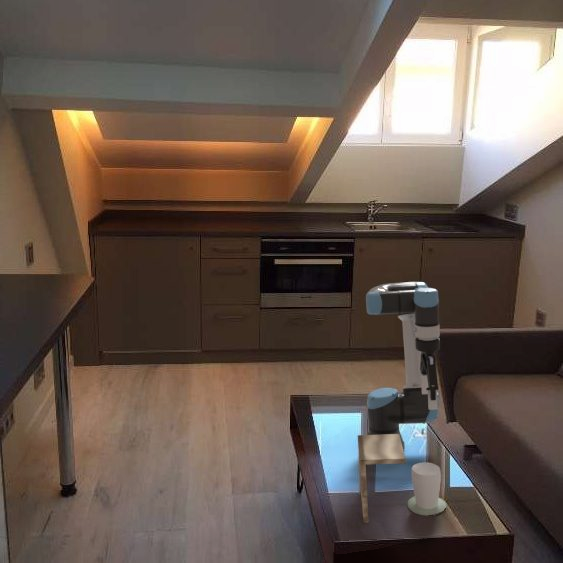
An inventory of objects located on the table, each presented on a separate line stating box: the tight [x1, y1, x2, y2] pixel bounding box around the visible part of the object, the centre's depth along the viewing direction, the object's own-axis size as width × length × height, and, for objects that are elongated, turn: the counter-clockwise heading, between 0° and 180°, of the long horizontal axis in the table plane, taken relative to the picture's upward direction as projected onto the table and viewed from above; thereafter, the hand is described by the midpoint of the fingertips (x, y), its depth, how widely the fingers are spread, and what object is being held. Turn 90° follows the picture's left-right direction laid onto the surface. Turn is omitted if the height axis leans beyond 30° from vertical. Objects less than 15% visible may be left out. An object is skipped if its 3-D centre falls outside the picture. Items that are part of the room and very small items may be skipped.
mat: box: [407, 495, 447, 517], centre depth 197 cm, size 12×12×1 cm
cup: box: [411, 462, 442, 509], centre depth 196 cm, size 9×9×12 cm
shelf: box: [357, 434, 407, 524], centre depth 197 cm, size 14×18×20 cm
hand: (429, 401), depth 200 cm, fingers open, 13 cm apart
